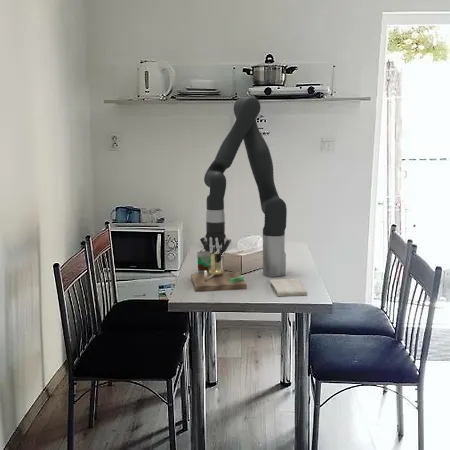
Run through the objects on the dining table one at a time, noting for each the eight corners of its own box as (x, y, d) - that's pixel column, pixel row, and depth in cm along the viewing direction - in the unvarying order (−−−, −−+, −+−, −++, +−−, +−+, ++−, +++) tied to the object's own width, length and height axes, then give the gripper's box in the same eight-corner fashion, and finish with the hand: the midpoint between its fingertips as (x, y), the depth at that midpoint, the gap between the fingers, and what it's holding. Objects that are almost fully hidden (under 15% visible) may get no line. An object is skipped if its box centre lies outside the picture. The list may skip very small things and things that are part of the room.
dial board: (238, 276, 257) (238, 267, 256) (246, 288, 238) (246, 280, 237) (191, 278, 254) (191, 270, 253) (195, 291, 235) (195, 282, 235)
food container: (211, 275, 258) (211, 252, 256) (197, 275, 259) (197, 252, 257) (217, 268, 270) (217, 246, 268) (204, 268, 271) (203, 246, 269)
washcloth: (297, 283, 246) (297, 276, 246) (308, 297, 229) (308, 289, 228) (268, 285, 245) (268, 277, 245) (276, 298, 228) (276, 290, 227)
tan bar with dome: (212, 271, 256) (212, 250, 254) (226, 272, 254) (225, 251, 252) (198, 280, 242) (197, 258, 241) (212, 281, 240) (211, 259, 239)
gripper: (234, 219, 248) (234, 261, 251) (203, 217, 253) (204, 258, 256) (227, 222, 241) (228, 265, 245) (196, 220, 246) (196, 262, 250)
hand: (215, 261), depth 250 cm, fingers closed on tan bar with dome
